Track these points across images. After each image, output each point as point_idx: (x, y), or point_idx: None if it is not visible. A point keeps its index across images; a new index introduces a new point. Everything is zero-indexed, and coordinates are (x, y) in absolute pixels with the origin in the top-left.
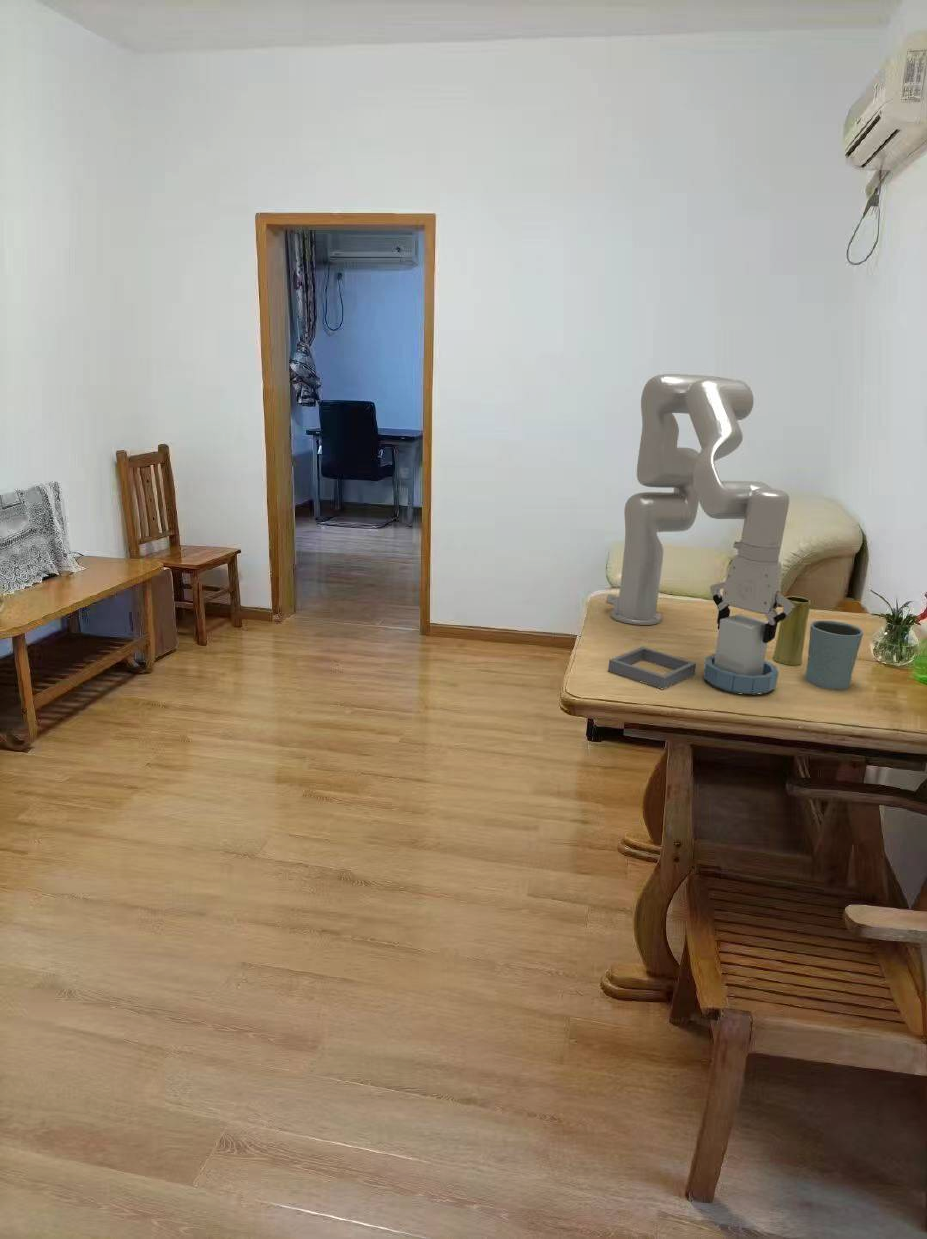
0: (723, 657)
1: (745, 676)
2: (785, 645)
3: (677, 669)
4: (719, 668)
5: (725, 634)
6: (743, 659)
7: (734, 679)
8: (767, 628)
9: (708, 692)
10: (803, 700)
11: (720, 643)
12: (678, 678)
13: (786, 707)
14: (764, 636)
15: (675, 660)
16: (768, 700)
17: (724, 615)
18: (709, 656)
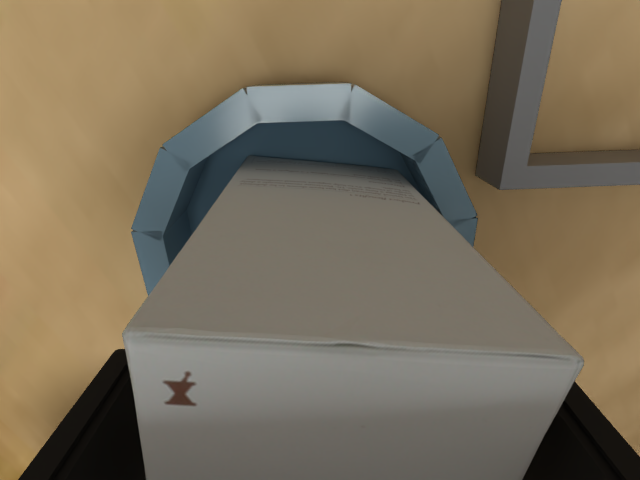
0: (375, 196)
1: (202, 130)
2: None
3: (552, 10)
4: (357, 127)
5: (428, 263)
6: (241, 195)
7: (245, 88)
8: (35, 463)
9: (340, 16)
10: (70, 265)
11: (433, 230)
12: (511, 3)
13: (46, 148)
14: (108, 384)
15: (595, 160)
16: (133, 158)
17: (576, 471)
18: None
